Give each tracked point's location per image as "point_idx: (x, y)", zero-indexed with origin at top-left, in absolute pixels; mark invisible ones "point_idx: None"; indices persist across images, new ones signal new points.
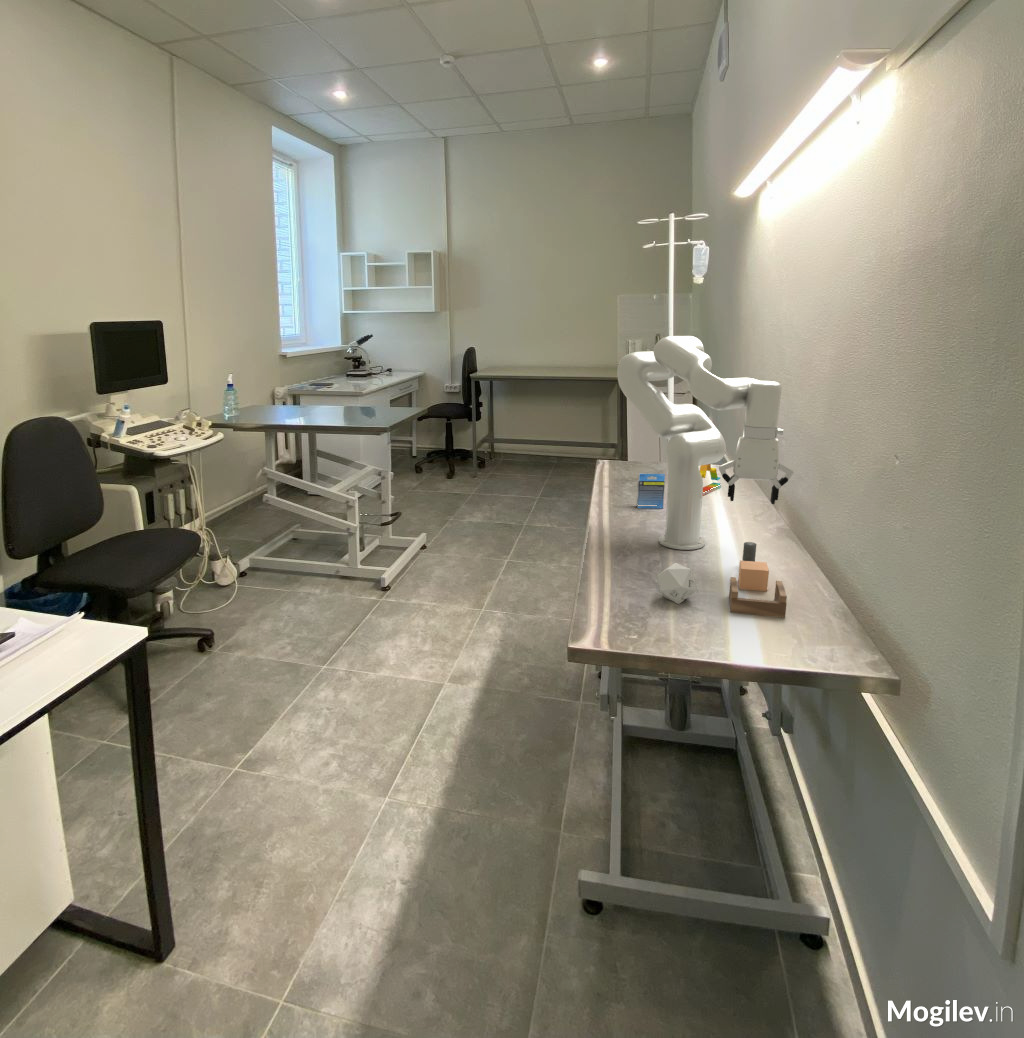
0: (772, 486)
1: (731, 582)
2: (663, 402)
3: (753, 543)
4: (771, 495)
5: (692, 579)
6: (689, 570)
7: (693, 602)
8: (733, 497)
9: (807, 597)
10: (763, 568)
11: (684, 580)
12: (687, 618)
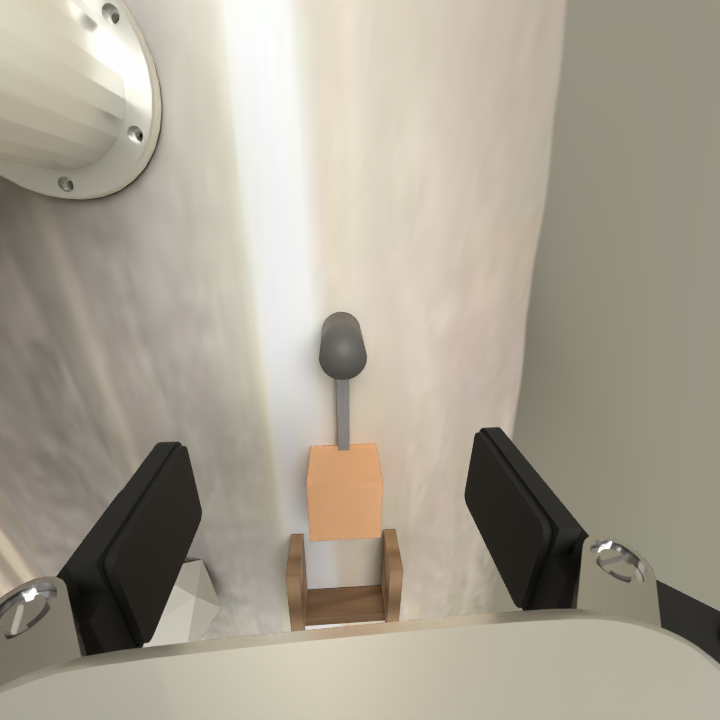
0: (544, 539)
1: (289, 603)
2: None
3: (355, 351)
4: (493, 490)
5: (200, 637)
6: None
7: (223, 578)
8: (190, 538)
9: (455, 502)
10: (368, 525)
11: None
12: (225, 631)
